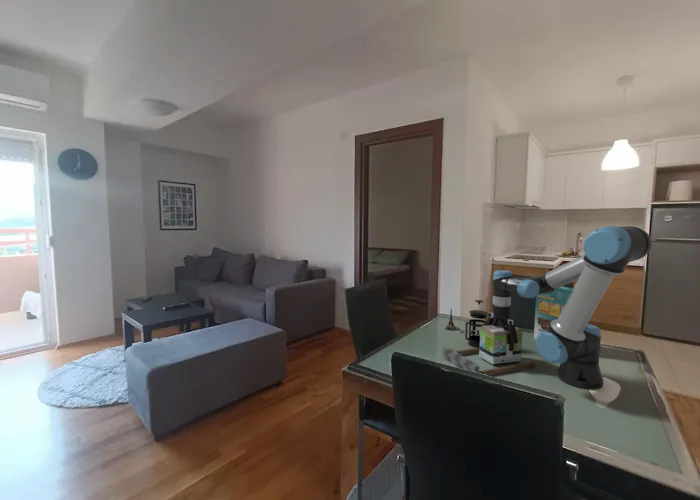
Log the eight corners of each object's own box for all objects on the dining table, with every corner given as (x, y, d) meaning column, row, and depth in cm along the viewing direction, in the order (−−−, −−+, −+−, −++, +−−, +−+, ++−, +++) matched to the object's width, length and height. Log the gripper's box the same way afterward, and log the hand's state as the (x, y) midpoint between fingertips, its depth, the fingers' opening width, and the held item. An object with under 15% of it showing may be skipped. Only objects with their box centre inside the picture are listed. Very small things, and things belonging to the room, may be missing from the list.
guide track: (534, 367, 148) (535, 356, 147) (474, 378, 138) (475, 366, 137) (497, 348, 169) (497, 338, 168) (442, 357, 159) (442, 346, 158)
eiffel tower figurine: (464, 334, 191) (465, 311, 190) (447, 334, 191) (447, 311, 190) (455, 325, 206) (456, 304, 205) (439, 326, 206) (439, 304, 205)
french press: (483, 340, 179) (484, 298, 177) (492, 347, 170) (494, 302, 168) (461, 341, 178) (462, 298, 176) (469, 348, 169) (471, 303, 167)
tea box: (493, 365, 148) (494, 332, 147) (478, 356, 158) (479, 325, 156) (521, 361, 152) (523, 329, 151) (505, 353, 162) (506, 322, 161)
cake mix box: (582, 352, 164) (586, 291, 161) (573, 354, 162) (577, 292, 159) (542, 337, 184) (544, 282, 182) (533, 339, 182) (536, 283, 179)
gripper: (528, 310, 143) (526, 361, 145) (490, 298, 165) (489, 343, 167) (514, 312, 141) (512, 364, 143) (477, 300, 162) (476, 345, 164)
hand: (500, 353), depth 155 cm, fingers closed on tea box, 10 cm apart
